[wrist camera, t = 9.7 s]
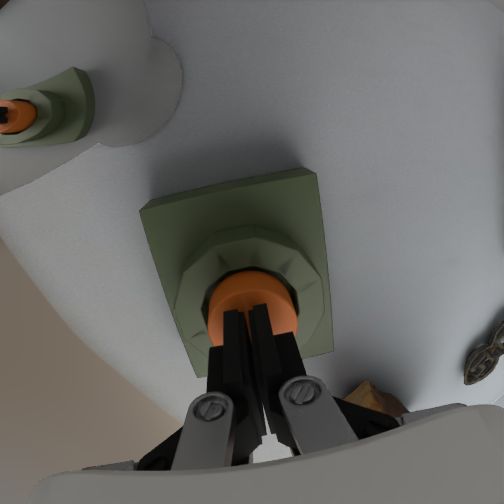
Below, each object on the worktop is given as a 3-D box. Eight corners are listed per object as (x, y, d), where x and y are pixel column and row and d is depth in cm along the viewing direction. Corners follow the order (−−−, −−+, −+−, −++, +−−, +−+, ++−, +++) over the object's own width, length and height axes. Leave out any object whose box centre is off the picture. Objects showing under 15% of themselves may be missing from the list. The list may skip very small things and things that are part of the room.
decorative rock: (294, 402, 21) (324, 531, 11) (358, 353, 20) (423, 482, 10) (372, 443, 25) (406, 531, 15) (422, 407, 24) (470, 493, 14)
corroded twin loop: (521, 323, 21) (527, 328, 20) (469, 384, 23) (474, 391, 22) (508, 301, 20) (516, 307, 19) (450, 371, 22) (456, 378, 21)
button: (200, 279, 13) (196, 299, 12) (284, 262, 13) (292, 280, 12) (220, 345, 15) (219, 369, 13) (295, 330, 15) (302, 353, 13)
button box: (149, 199, 15) (126, 221, 12) (305, 167, 15) (328, 178, 12) (199, 354, 19) (195, 400, 15) (324, 330, 19) (343, 372, 15)
